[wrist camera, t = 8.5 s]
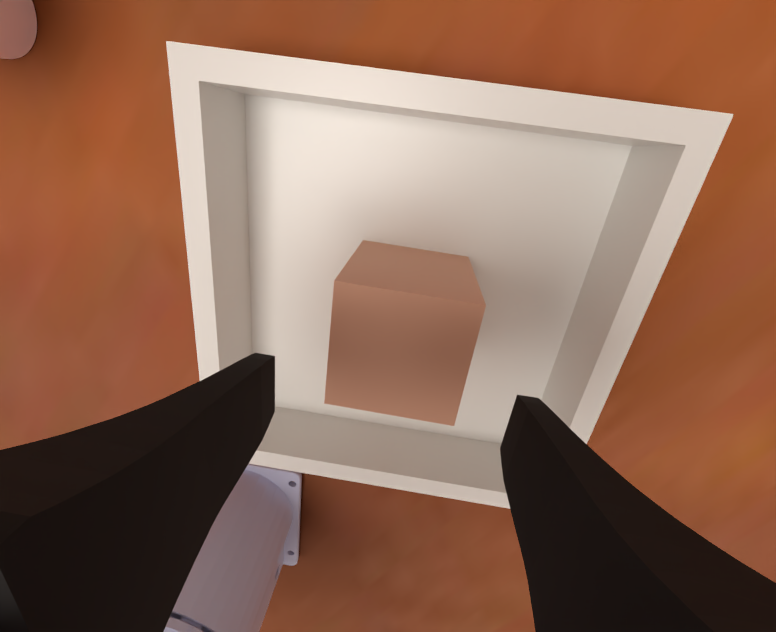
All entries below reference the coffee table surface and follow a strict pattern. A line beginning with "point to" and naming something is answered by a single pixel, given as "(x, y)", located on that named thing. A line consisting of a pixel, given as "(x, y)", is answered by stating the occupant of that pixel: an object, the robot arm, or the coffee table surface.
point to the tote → (424, 241)
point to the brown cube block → (403, 332)
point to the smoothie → (17, 28)
